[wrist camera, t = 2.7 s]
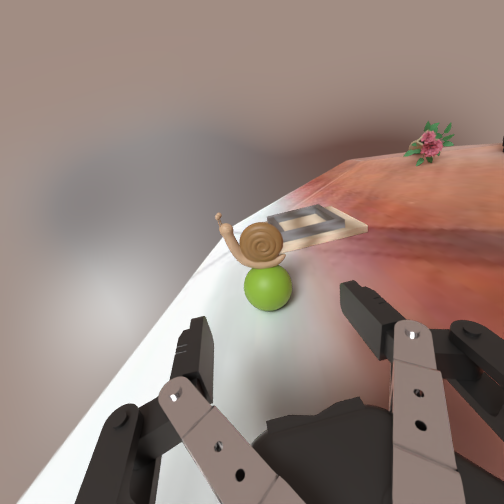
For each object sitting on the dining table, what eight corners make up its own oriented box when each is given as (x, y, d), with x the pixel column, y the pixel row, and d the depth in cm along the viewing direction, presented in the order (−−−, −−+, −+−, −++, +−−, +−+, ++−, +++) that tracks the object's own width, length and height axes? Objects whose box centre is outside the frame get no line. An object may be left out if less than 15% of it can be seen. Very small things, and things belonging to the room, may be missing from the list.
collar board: (330, 211, 51) (330, 199, 50) (367, 231, 39) (367, 216, 38) (253, 230, 51) (250, 218, 50) (265, 257, 38) (262, 242, 37)
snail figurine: (244, 294, 30) (220, 206, 25) (293, 288, 29) (278, 196, 24) (238, 324, 25) (207, 223, 20) (296, 319, 24) (279, 211, 19)
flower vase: (424, 172, 90) (455, 168, 60) (390, 167, 94) (403, 161, 64) (438, 140, 86) (479, 117, 56) (402, 135, 90) (421, 113, 60)
